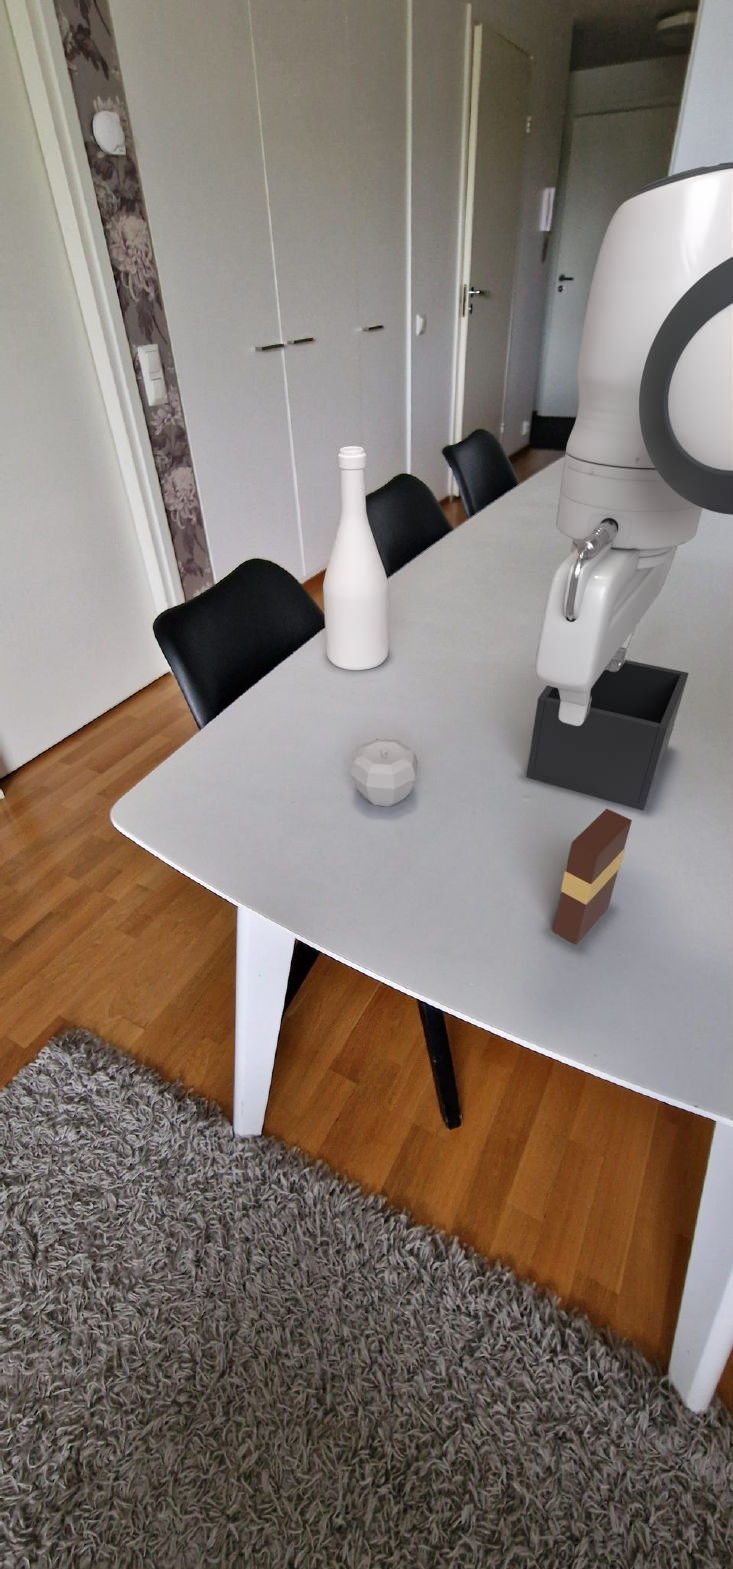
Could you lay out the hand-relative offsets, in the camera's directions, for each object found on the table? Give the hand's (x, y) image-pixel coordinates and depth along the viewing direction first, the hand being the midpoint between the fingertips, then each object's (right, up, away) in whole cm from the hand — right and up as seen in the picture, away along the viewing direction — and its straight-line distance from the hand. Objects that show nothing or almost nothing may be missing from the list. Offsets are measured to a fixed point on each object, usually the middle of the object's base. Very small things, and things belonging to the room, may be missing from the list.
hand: (592, 692), depth 53 cm
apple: (-15, -9, +28) cm, 33 cm away
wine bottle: (-19, +12, +56) cm, 60 cm away
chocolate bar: (+3, -20, +12) cm, 23 cm away
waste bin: (+11, -4, +32) cm, 34 cm away
